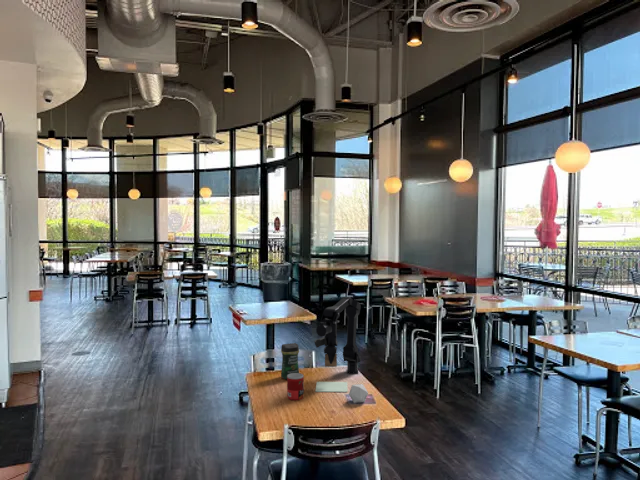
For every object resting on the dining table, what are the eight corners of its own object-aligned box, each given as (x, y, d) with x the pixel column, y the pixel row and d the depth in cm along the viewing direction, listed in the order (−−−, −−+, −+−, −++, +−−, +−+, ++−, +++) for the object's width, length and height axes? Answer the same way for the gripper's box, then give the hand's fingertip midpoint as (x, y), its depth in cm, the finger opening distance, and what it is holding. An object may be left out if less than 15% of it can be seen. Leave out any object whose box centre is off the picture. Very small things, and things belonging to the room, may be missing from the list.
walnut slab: (325, 365, 244) (325, 353, 244) (336, 365, 244) (336, 353, 243) (324, 366, 241) (324, 354, 241) (336, 366, 241) (336, 355, 241)
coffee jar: (284, 380, 250) (283, 346, 250) (279, 376, 258) (279, 342, 257) (301, 378, 254) (300, 344, 254) (296, 374, 261) (295, 341, 261)
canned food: (301, 401, 221) (301, 378, 221) (285, 400, 223) (285, 377, 222) (305, 395, 229) (305, 373, 228) (289, 394, 230) (289, 372, 230)
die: (364, 407, 214) (373, 388, 218) (347, 398, 214) (356, 379, 218) (359, 407, 222) (368, 388, 226) (343, 398, 222) (352, 380, 226)
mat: (316, 382, 247) (316, 381, 247) (347, 382, 246) (347, 381, 246) (315, 392, 233) (315, 391, 233) (347, 392, 232) (347, 391, 232)
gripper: (316, 329, 252) (316, 357, 252) (314, 336, 233) (313, 367, 234) (337, 329, 251) (337, 358, 252) (336, 336, 233) (336, 368, 233)
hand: (330, 362), depth 242 cm, fingers closed on walnut slab, 2 cm apart
